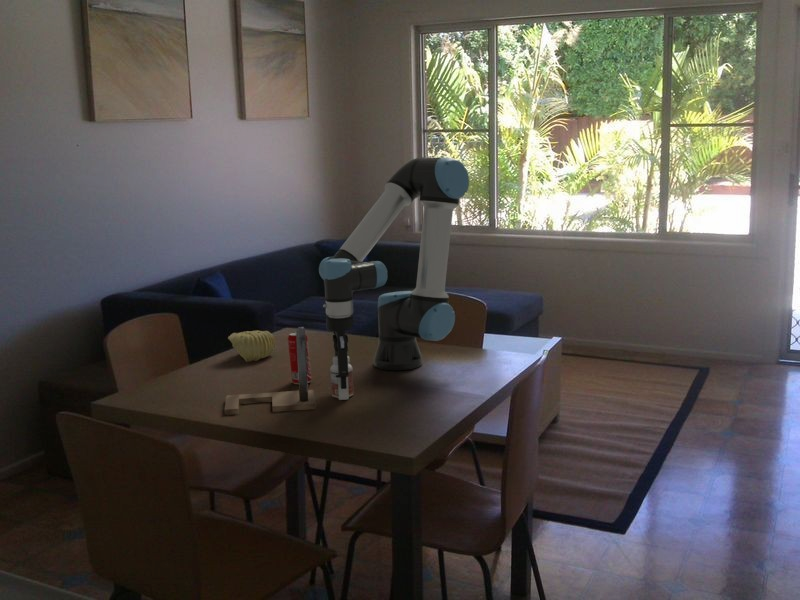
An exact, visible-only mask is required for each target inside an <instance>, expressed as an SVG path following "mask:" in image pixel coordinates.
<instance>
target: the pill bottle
mask: <svg viewBox="0 0 800 600" xmlns="http://www.w3.org/2000/svg"><path fill="white" fill-rule="evenodd" d="M347 358H348V373H349V376H348V389H349V398H350V397H352V396H353V395H354V394H355V393H354V391H355V390H354V374H353V373H354V372H353V371H354V370H353V366H352V365H351V364H350V361H351V360H350V356H349V355H347ZM332 363H333V364H332V365H331V366H330V388H331V389H330V390H331V392H330V393H331V396H332V397H333V398H336V399H339V390H338V378H336V375H338V374H339V373H338V358H337V356H335V355H334V356H333V357H332Z"/></svg>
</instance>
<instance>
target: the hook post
mask: <svg viewBox="0 0 800 600" xmlns="http://www.w3.org/2000/svg"><path fill="white" fill-rule="evenodd" d="M295 332H296V338H297V359H298V379H299V384H298V391H299V400H300V401H301V402H306V401H308V390H309V383H308V380H307V358H306V337H305V332H306V329H305V327H304V326H298V327H297V329H296V330H295Z"/></svg>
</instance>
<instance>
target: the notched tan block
mask: <svg viewBox="0 0 800 600" xmlns="http://www.w3.org/2000/svg"><path fill="white" fill-rule="evenodd" d="M260 403H272V405H271V406H272V412H273V413H276V412H288V411H291V412H292V411H303V410H317V404H316V398H315V392H314V389H308V401H306V402H301V401H300V400H299V390H289V391H288V390H287V391H274V392H260V393H259V392H257V393H244V394H243V393H242V394H241V393H240V394H231V395H230V394H228V395H226V397H225V404H224V416H230V415H231V416H232V415H239V413H240V412H239V411H240V405H247V404H260Z"/></svg>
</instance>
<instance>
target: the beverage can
mask: <svg viewBox="0 0 800 600" xmlns="http://www.w3.org/2000/svg"><path fill="white" fill-rule="evenodd" d="M305 337H306V358H307V380H308V384H309V383H311V382H312V380H313V379H312V370H311V361H310V352H309V350H310V349H309V339H308V334H307V333H306V331H305ZM287 344H288V353H289V362H290V373H291V382H292V383H293V384H294V385H299V379H298V359H297V338H296V331H293V332H289V333H288V337H287Z"/></svg>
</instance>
